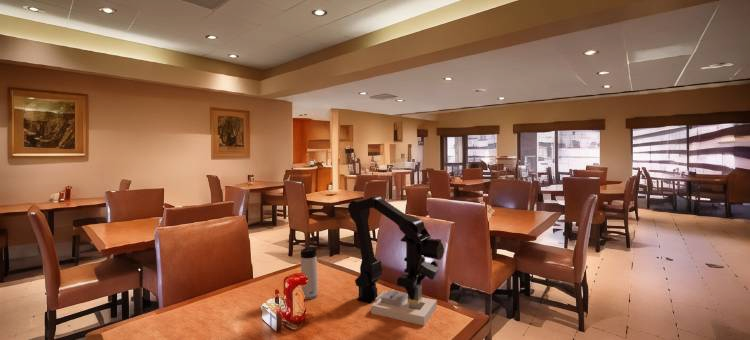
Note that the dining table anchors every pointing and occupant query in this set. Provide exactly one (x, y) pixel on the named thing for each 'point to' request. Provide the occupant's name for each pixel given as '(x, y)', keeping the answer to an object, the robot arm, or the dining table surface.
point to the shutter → (394, 297)
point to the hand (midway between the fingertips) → (414, 297)
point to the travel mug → (309, 272)
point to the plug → (417, 295)
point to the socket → (406, 310)
